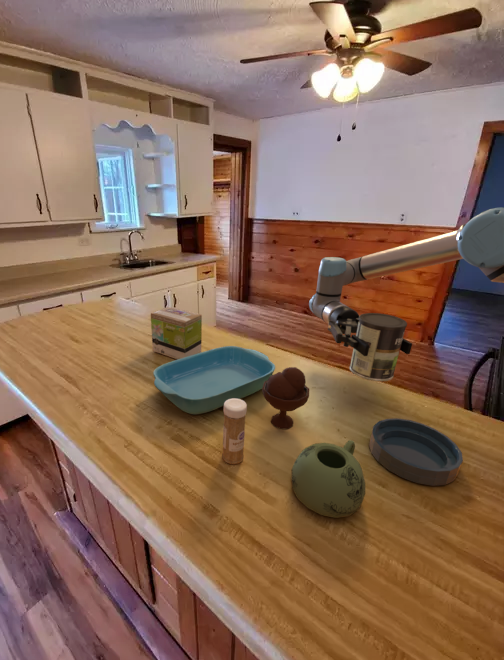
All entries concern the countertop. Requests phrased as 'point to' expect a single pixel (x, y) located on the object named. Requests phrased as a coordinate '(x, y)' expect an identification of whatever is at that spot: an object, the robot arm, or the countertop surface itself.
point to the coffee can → (378, 346)
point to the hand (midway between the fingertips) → (388, 349)
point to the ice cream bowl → (286, 394)
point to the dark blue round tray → (415, 451)
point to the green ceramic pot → (329, 479)
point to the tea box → (176, 332)
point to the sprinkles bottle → (234, 430)
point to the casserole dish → (213, 377)
